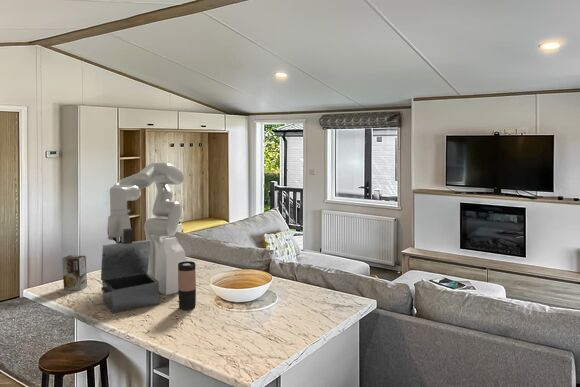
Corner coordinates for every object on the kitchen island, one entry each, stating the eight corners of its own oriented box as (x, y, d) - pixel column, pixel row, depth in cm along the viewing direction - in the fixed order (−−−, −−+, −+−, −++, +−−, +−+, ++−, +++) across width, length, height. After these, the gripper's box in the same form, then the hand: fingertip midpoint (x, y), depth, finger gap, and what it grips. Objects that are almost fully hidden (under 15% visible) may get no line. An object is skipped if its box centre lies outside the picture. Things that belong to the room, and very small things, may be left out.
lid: (147, 273, 216) (146, 271, 217) (152, 228, 207) (151, 226, 208) (101, 280, 204) (100, 278, 205) (104, 232, 195) (103, 231, 196)
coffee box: (87, 286, 227) (86, 255, 225) (80, 290, 220) (79, 258, 219) (70, 285, 228) (69, 254, 226) (63, 289, 221) (61, 257, 219)
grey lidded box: (150, 292, 219) (150, 272, 218) (163, 303, 204) (162, 281, 203) (98, 301, 205) (97, 280, 204) (108, 314, 190) (107, 291, 189)
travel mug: (180, 304, 203) (179, 261, 200) (197, 304, 203) (196, 261, 201) (177, 310, 195) (176, 265, 193) (195, 310, 196) (194, 265, 194)
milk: (175, 284, 232) (175, 234, 229) (187, 289, 224) (187, 238, 221) (154, 289, 223) (153, 238, 221) (166, 294, 215) (165, 241, 213)
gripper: (132, 210, 220) (133, 247, 222) (100, 212, 212) (101, 250, 214) (137, 212, 214) (138, 250, 216) (104, 215, 206) (105, 254, 208)
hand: (120, 250), depth 215 cm, fingers closed
